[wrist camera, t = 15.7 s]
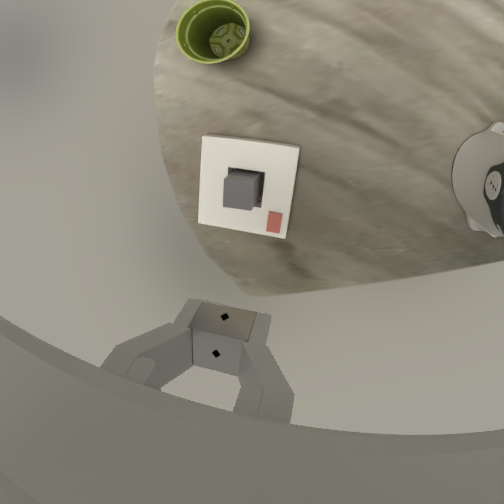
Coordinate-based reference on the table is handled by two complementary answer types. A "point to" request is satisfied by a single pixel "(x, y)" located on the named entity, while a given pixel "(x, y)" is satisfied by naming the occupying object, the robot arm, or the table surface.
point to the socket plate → (250, 158)
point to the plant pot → (213, 31)
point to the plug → (242, 189)
